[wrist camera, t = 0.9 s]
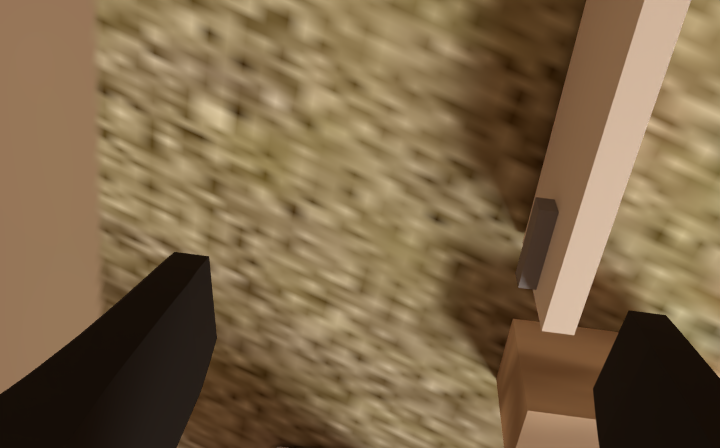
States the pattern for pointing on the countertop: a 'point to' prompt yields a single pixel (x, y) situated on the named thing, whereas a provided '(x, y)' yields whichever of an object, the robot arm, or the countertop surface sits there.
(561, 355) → the block
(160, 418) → the robot arm
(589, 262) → the door
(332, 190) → the countertop surface
